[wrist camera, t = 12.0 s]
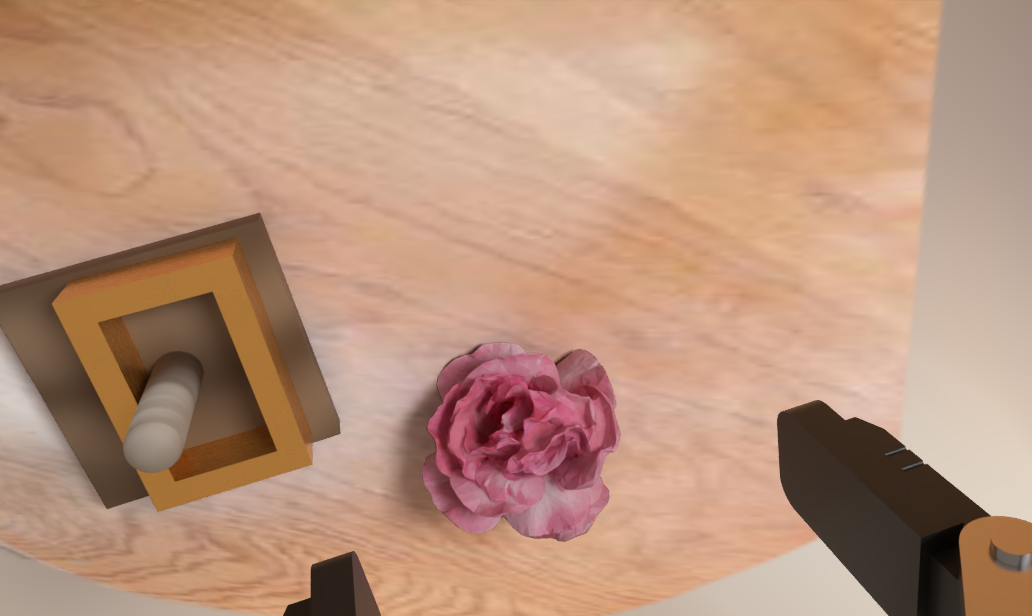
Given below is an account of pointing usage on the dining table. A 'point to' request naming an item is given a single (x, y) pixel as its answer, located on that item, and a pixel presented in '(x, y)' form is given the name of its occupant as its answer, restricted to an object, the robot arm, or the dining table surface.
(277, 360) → the orange rectangular frame
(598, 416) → the flower
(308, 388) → the keeper base
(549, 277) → the dining table surface
